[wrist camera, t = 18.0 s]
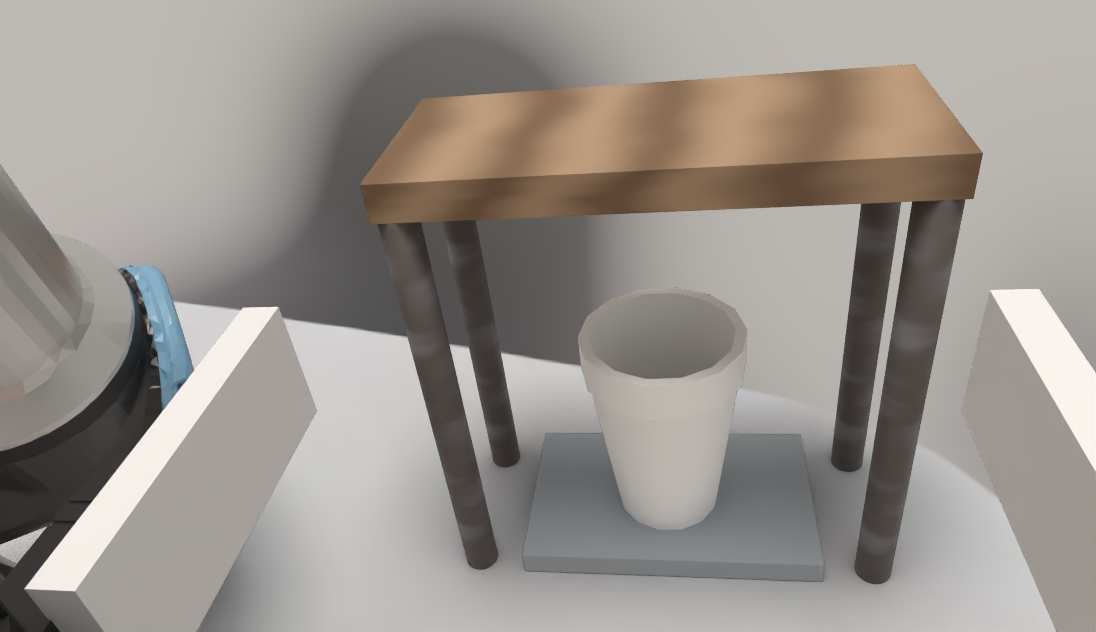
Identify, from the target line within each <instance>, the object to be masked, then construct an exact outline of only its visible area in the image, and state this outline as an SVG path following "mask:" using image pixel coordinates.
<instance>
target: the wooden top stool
mask: <svg viewBox="0 0 1096 632" xmlns="http://www.w3.org/2000/svg"><path fill="white" fill-rule="evenodd" d="M982 155H983V153H982V152H981V150H980V149H979V147H978V146H977V145H976V144H975V142H974V141H973V140H972V138H971V137H970V136H969V134H968V133H967V132H966V131H965V129H964V128H963V127H962V125H961V124H960V123H959V122H958V120H957V119H956V117H955V116H954V115H953V113H952V112H951V111H950V109H949V108H948V107H947V105H946V104H945V103H944V102H943V100H942V99H941V98H940V97H939V95H938V94H937V92H936V91H935V90H934V89H933V87H932V86H931V85H930V83H929V82H928V81H927V79H926V78H925V77H924V75H923V74H922V73H921V71H920V70H919V69H918V68H917V66H916V65H915V64H912V65H898V66H885V67H869V68H856V69H855V68H854V69H840V70H826V71H812V72H798V73H785V74H769V75H756V76H740V77H727V78H713V79H698V80H683V81H670V82H655V83H641V84H626V85H612V86H599V87H584V88H570V89H555V90H541V91H527V92H512V93H498V94H484V95H470V96H455V97H441V98H427V99H422V101H421V102H420V103H419V105H418V106H417V107H416V109H415V110H414V111H413V113H412V114H411V115H410V117H409V118H408V119H407V121H406V122H405V124H404V125H403V126H402V128H401V129H400V130H399V132H398V133H397V135H396V136H395V137H394V139H393V140H392V141H391V143H390V144H389V145H388V147H387V148H386V150H385V151H384V152H383V154H382V155H381V157H380V158H379V159H378V160H377V162H376V163H375V165H374V166H373V167H372V169H371V170H370V171H369V173H368V174H367V176H366V177H365V178H364V180H363V181H362V183H361V184H360V188H361V192H362V196H363V200H364V203H365V207H366V211H367V214H368V218H369V222H370V224H378V228H379V232H380V235H381V239H382V243H383V246H384V250H385V254H386V258H387V261H388V265H389V269H390V273H391V276H392V280H393V284H394V288H395V291H396V295H397V299H398V302H399V306H400V310H401V314H402V318H403V321H404V325H405V329H406V332H407V336H408V340H409V344H410V348H411V351H412V355H413V359H414V362H415V366H416V370H417V374H418V377H419V381H420V385H421V389H422V392H423V396H424V400H425V404H426V407H427V411H428V415H429V419H430V422H431V426H432V430H433V434H434V437H435V441H436V445H437V448H438V452H439V456H440V460H441V463H442V467H443V471H444V475H445V478H446V482H447V486H448V490H449V493H450V497H451V501H452V505H453V508H454V512H455V516H456V520H457V523H458V527H459V531H460V534H461V538H462V542H463V546H464V549H465V553H466V557H467V561H468V563H469V565H470V566H471V567H473V568H475V569H485V568H488V567H490V566H491V565H493V564H494V563H495V561H496V560H497V557H498V552H497V548H496V544H495V539H494V535H493V531H492V526H491V522H490V518H489V514H488V509H487V505H486V501H485V496H484V492H483V488H482V483H481V479H480V475H479V470H478V466H477V462H476V458H475V453H474V449H473V445H472V440H471V436H470V432H469V427H468V423H467V419H466V415H465V410H464V406H463V402H462V397H461V393H460V389H459V384H458V380H457V376H456V371H455V367H454V363H453V359H452V354H451V350H450V346H449V341H448V337H447V333H446V328H445V324H444V320H443V316H442V311H441V307H440V303H439V298H438V294H437V290H436V285H435V281H434V277H433V273H432V268H431V264H430V260H429V255H428V251H427V247H426V242H425V238H424V234H423V230H422V225H421V222H436V221H442V224H443V228H444V233H445V238H446V242H447V247H448V252H449V257H450V261H451V265H452V270H453V275H454V279H455V284H456V288H457V293H458V298H459V303H460V308H461V312H462V317H463V322H464V326H465V331H466V335H467V340H468V345H469V349H470V354H471V359H472V363H473V368H474V373H475V377H476V382H477V387H478V391H479V396H480V400H481V405H482V410H483V414H484V419H485V424H486V428H487V433H488V438H489V442H490V447H491V452H492V456H493V461H494V463H495V464H496V465H498V466H502V467H507V466H511V465H513V464H515V463H516V462H517V461H518V460H519V458H520V453H519V448H518V442H517V437H516V432H515V426H514V421H513V416H512V410H511V405H510V400H509V394H508V389H507V384H506V378H505V373H504V368H503V362H502V357H501V352H500V347H499V341H498V336H497V331H496V325H495V320H494V315H493V309H492V304H491V299H490V293H489V288H488V283H487V277H486V272H485V267H484V261H483V257H482V251H481V246H480V241H479V235H478V230H477V224H476V220H482V219H483V220H484V219H507V218H530V217H555V216H576V215H578V216H579V215H600V214H601V215H602V214H624V213H625V214H627V213H650V212H671V211H672V212H673V211H696V210H697V211H698V210H720V209H743V208H769V207H793V206H815V205H816V206H817V205H837V204H838V205H840V204H861V211H860V219H859V228H858V236H857V245H856V253H855V261H854V271H853V278H852V287H851V295H850V304H849V312H848V321H847V330H846V337H845V347H844V354H843V364H842V371H841V380H840V388H839V397H838V405H837V414H836V422H835V430H834V439H833V447H832V456H831V461H832V463H833V465H834V466H835V467H837V468H838V469H840V470H843V471H855V470H858V469H859V468H860V467H861V465H862V460H863V454H864V447H865V440H866V434H867V427H868V420H869V413H870V407H871V400H872V393H873V387H874V380H875V373H876V366H877V360H878V353H879V347H880V340H881V333H882V327H883V319H884V313H885V306H886V300H887V293H888V286H889V280H890V273H891V266H892V260H893V253H894V246H895V239H896V233H897V226H898V219H899V213H900V206H901V202H910V201H912V207H911V213H910V220H909V226H908V232H907V239H906V245H905V251H904V257H903V264H902V270H901V276H900V283H899V289H898V295H897V302H896V308H895V315H894V321H893V327H892V333H891V340H890V346H889V352H888V359H887V365H886V371H885V377H884V384H883V390H882V396H881V403H880V409H879V416H878V422H877V428H876V434H875V441H874V447H873V453H872V460H871V466H870V472H869V479H868V485H867V491H866V497H865V504H864V510H863V516H862V523H861V529H860V535H859V542H858V548H857V554H856V561H855V571H856V573H857V574H858V576H859V577H860V578H862V579H863V580H865V581H867V582H869V583H874V584H879V583H883V582H886V581H887V580H888V579H889V577H890V575H891V570H892V565H893V560H894V555H895V550H896V545H897V540H898V535H899V530H900V525H901V520H902V515H903V510H904V505H905V500H906V495H907V490H908V485H909V480H910V475H911V470H912V465H913V460H914V455H915V450H916V445H917V439H918V435H919V430H920V424H921V419H922V414H923V409H924V404H925V399H926V394H927V389H928V384H929V379H930V374H931V369H932V364H933V359H934V354H935V349H936V344H937V339H938V334H939V329H940V324H941V319H942V314H943V309H944V304H945V299H946V294H947V289H948V284H949V279H950V274H951V269H952V264H953V259H954V254H955V249H956V244H957V239H958V234H959V229H960V224H961V219H962V214H963V209H964V204H965V199H973V198H974V194H975V189H976V184H977V179H978V174H979V169H980V164H981V160H982Z"/></svg>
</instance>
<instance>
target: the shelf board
mask: <svg viewBox="0 0 1096 632" xmlns="http://www.w3.org/2000/svg"><path fill="white" fill-rule="evenodd" d="M522 557H523V562H524V566H525V571H543V572H571V573H598V574H625V575H652V576H680V577H707V578H734V579H762V580H789V581H816V582H823V574H824V566H825V565H824V560H823V554H822V549H821V543H820V538H819V532H818V527H817V521H816V516H815V510H814V505H813V499H812V494H811V488H810V483H809V477H808V472H807V466H806V461H805V455H804V450H803V444H802V439H801V434H729V436H728V441H727V446H726V451H725V457H724V462H723V467H722V472H721V477H720V482H719V488H718V493H717V498H716V502H715V507H714V509H713V510H712V511H711V512H710V513H709V514H708V515H707V516H706V517H705V518H704V520H703V521H702V522H699V523H697V524H694V525H692V526H689V527H687V528H684V529H682V530H658V529H655V528H653V527H650V526H647V525H644V524H642V523H639V522H637V521H636V520H635V519H634V518H633V517H632V516H631V515H630V514H629V513H628V512H627V511H626V510H625V509H624V506H623V503H622V499H621V496H620V492H619V489H618V485H617V482H616V478H615V475H614V471H613V467H612V464H611V460H610V457H609V453H608V449H607V446H606V442H605V439H604V435H603V433H546V434H545V440H544V445H543V450H542V455H541V460H540V466H539V471H538V476H537V481H536V486H535V492H534V497H533V502H532V507H531V512H530V518H529V523H528V528H527V533H526V538H525V544H524V549H523V554H522Z"/></svg>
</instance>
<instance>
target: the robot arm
mask: <svg viewBox="0 0 1096 632" xmlns="http://www.w3.org/2000/svg"><path fill="white" fill-rule="evenodd" d="M316 412H317V409H316V407H315V404H314V401H313V399H312V396H311V393H310V391H309V388H308V385H307V383H306V380H305V377H304V374H303V372H302V369H301V366H300V364H299V361H298V358H297V356H296V353H295V350H294V348H293V345H292V342H291V339H290V337H289V334H288V331H287V329H286V326H285V323H284V321H283V318H282V315H281V313H280V310H279V308H278V307H255V308H243V309H242V310H241V311H240V312H239V314H238V315H237V316H236V318H235V319H234V320H233V321H232V323H231V324H230V325H229V327H228V328H227V329H226V330H225V332H224V333H223V334H222V336H221V337H220V338H219V339H218V341H217V342H216V343H215V345H214V346H213V347H212V348H211V350H210V351H209V352H208V354H207V355H206V356H205V357H204V359H203V360H202V361H201V363H200V364H199V365H198V366H197V368H196V369H195V370H194V368H193V365H192V361H191V357H190V354H189V351H188V347H187V344H186V341H185V338H184V334H183V331H182V328H181V325H180V322H179V319H178V315H177V312H176V309H175V306H174V303H173V300H172V297H171V294H170V290H169V288H168V284H167V282H166V279H165V276H164V275H163V273H162V272H161V270H160V269H158V268H156V267H154V266H151V265H145V266H141V267H134V266H128V267H124V268H120V269H119V270H118V269H117V268H116V267H115V265H114V264H113V263H112V262H111V261H110V260H109V259H108V258H107V257H105V256H104V255H103V254H102V253H101V252H99V251H98V250H96V249H94V248H92V247H90V246H89V245H87V244H85V243H82V242H80V241H78V240H75V239H72V238H69V237H65V236H62V235H57V234H51V233H49V231H48V230H47V229H46V227H45V226H44V225H43V223H42V222H41V220H40V219H39V217H38V216H37V215H36V213H35V212H34V211H33V209H32V208H31V206H30V205H29V204H28V202H27V201H26V199H25V198H24V197H23V195H22V194H21V192H20V191H19V190H18V188H17V187H16V185H15V184H14V183H13V181H12V180H11V178H10V177H9V176H8V174H7V173H6V172H5V170H4V169H3V167H2V166H1V165H0V544H3V543H5V542H8V541H10V540H13V539H16V538H18V537H21V536H23V535H26V534H28V533H31V532H34V531H36V530H39V529H41V528H44V527H47V528H46V529H45V530H44V531H43V533H42V534H41V535H40V536H39V538H38V539H37V540H36V541H35V542H34V544H33V545H32V546H31V547H30V549H29V550H28V551H27V552H26V554H25V555H24V556H23V557H22V559H21V560H20V561H19V562H18V563H17V564H16V563H14V562H12V561H11V560H9V559H7V558H5V557H3V556H1V555H0V632H197V630H198V628H199V626H200V625H201V623H202V621H203V619H204V617H205V615H206V614H207V612H208V610H209V608H210V606H211V604H212V603H213V601H214V599H215V597H216V595H217V593H218V592H219V590H220V588H221V586H222V584H223V582H224V581H225V579H226V577H227V575H228V573H229V571H230V570H231V568H232V566H233V564H234V562H235V560H236V559H237V557H238V555H239V553H240V551H241V549H242V548H243V546H244V544H245V542H246V540H247V538H248V537H249V535H250V533H251V531H252V529H253V527H254V526H255V524H256V522H257V520H258V518H259V516H260V515H261V513H262V511H263V509H264V507H265V505H266V504H267V502H268V500H269V498H270V496H271V494H272V493H273V491H274V489H275V487H276V485H277V483H278V481H279V480H280V478H281V476H282V474H283V472H284V470H285V469H286V467H287V465H288V463H289V461H290V459H291V458H292V456H293V454H294V452H295V450H296V448H297V447H298V445H299V443H300V441H301V439H302V437H303V436H304V434H305V432H306V430H307V428H308V426H309V425H310V423H311V421H312V419H313V417H314V415H315V414H316ZM961 412H962V414H963V416H964V419H965V421H966V423H967V426H968V428H969V430H970V433H971V435H972V437H973V440H974V442H975V444H976V447H977V449H978V451H979V453H980V456H981V458H982V460H983V463H984V465H985V467H986V470H987V472H988V474H989V477H990V479H991V481H992V484H993V486H994V488H995V490H996V493H997V495H998V498H999V500H1000V502H1001V504H1002V507H1003V509H1004V511H1005V514H1006V516H1007V518H1008V521H1009V523H1010V525H1011V528H1012V530H1013V532H1014V535H1015V537H1016V539H1017V542H1018V544H1019V546H1020V548H1021V551H1022V553H1023V555H1024V558H1025V560H1026V562H1027V565H1028V567H1029V569H1030V572H1031V574H1032V576H1033V579H1034V581H1035V583H1036V586H1037V588H1038V590H1039V592H1040V595H1041V597H1042V599H1043V602H1044V604H1045V606H1046V609H1047V611H1048V613H1049V616H1050V618H1051V620H1052V623H1053V625H1054V627H1055V630H1056V632H1096V373H1095V372H1094V370H1093V369H1092V367H1091V366H1090V364H1089V363H1088V361H1087V360H1086V358H1085V357H1084V355H1083V354H1082V352H1081V351H1080V350H1079V348H1078V346H1077V345H1076V343H1075V342H1074V340H1073V339H1072V337H1071V336H1070V334H1069V333H1068V332H1067V330H1066V329H1065V327H1064V326H1063V324H1062V323H1061V321H1060V320H1059V318H1058V317H1057V315H1056V314H1055V312H1054V311H1053V309H1052V308H1051V306H1050V305H1049V303H1048V302H1047V301H1046V299H1045V298H1044V296H1043V294H1042V293H1041V292H1040V290H1039V289H1021V290H1020V289H1018V290H990V292H989V296H988V301H987V304H986V309H985V313H984V317H983V322H982V326H981V330H980V334H979V338H978V343H977V347H976V351H975V355H974V360H973V364H972V368H971V372H970V377H969V381H968V385H967V389H966V393H965V398H964V402H963V406H962V410H961ZM50 525H51V526H50Z"/></svg>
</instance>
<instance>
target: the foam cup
mask: <svg viewBox="0 0 1096 632" xmlns="http://www.w3.org/2000/svg"><path fill="white" fill-rule="evenodd" d="M578 342H579V351H580V359H581V368H582V372H583V375H584V379H585V382H586V386H587V389H588V391H589V392H590V393H591V394H592V396H593V399H594V403H595V406H596V410H597V414H598V417H599V421H600V424H601V428H602V432H603V435H604V439H605V442H606V446H607V449H608V453H609V457H610V460H611V464H612V467H613V471H614V475H615V478H616V482H617V485H618V489H619V492H620V496H621V499H622V503H623V506H624V509H625V510H626V511H627V512H628V513H629V514H630V515H631V516H632V517H633V518H634V519H635V520H636V521H637V522H639V523H642V524H644V525H647V526H650V527H653V528H655V529H658V530H682V529H684V528H687V527H689V526H692V525H694V524H697V523H699V522H702V521H703V520H704V518H705V517H706V516H707V515H708V514H709V513H710V512H711V511H712V510H713V509H714V507H715V502H716V498H717V493H718V488H719V482H720V477H721V472H722V467H723V462H724V457H725V451H726V446H727V441H728V436H729V431H730V426H731V420H732V415H733V410H734V405H735V400H736V395H737V390H738V389H739V388H740V387H741V386H742V382H743V377H744V371H745V366H746V350H747V328H746V327H745V325H744V323H743V322H742V320H741V318H740V317H739V315H738V314H737V312H736V310H735V309H734V308H732V307H730V306H728V305H727V304H725V303H724V302H722V301H720V300H718V299H717V298H715V297H713V296H711V295H710V294H705V293H700V292H695V291H690V290H685V289H681V288H659V289H641V290H638V291H635V292H632V293H628V294H625V295H622V296H619V297H616V298H613V299H610V300H609V301H607V302H606V303H604V304H603V305H602V306H600V307H599V308H597V309H596V310H595V311H593V312H592V313H591V314H589V315H588V316H587V318H586V320H585V323H584V325H583V327H582V329H581V331H580V333H579V335H578Z"/></svg>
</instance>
